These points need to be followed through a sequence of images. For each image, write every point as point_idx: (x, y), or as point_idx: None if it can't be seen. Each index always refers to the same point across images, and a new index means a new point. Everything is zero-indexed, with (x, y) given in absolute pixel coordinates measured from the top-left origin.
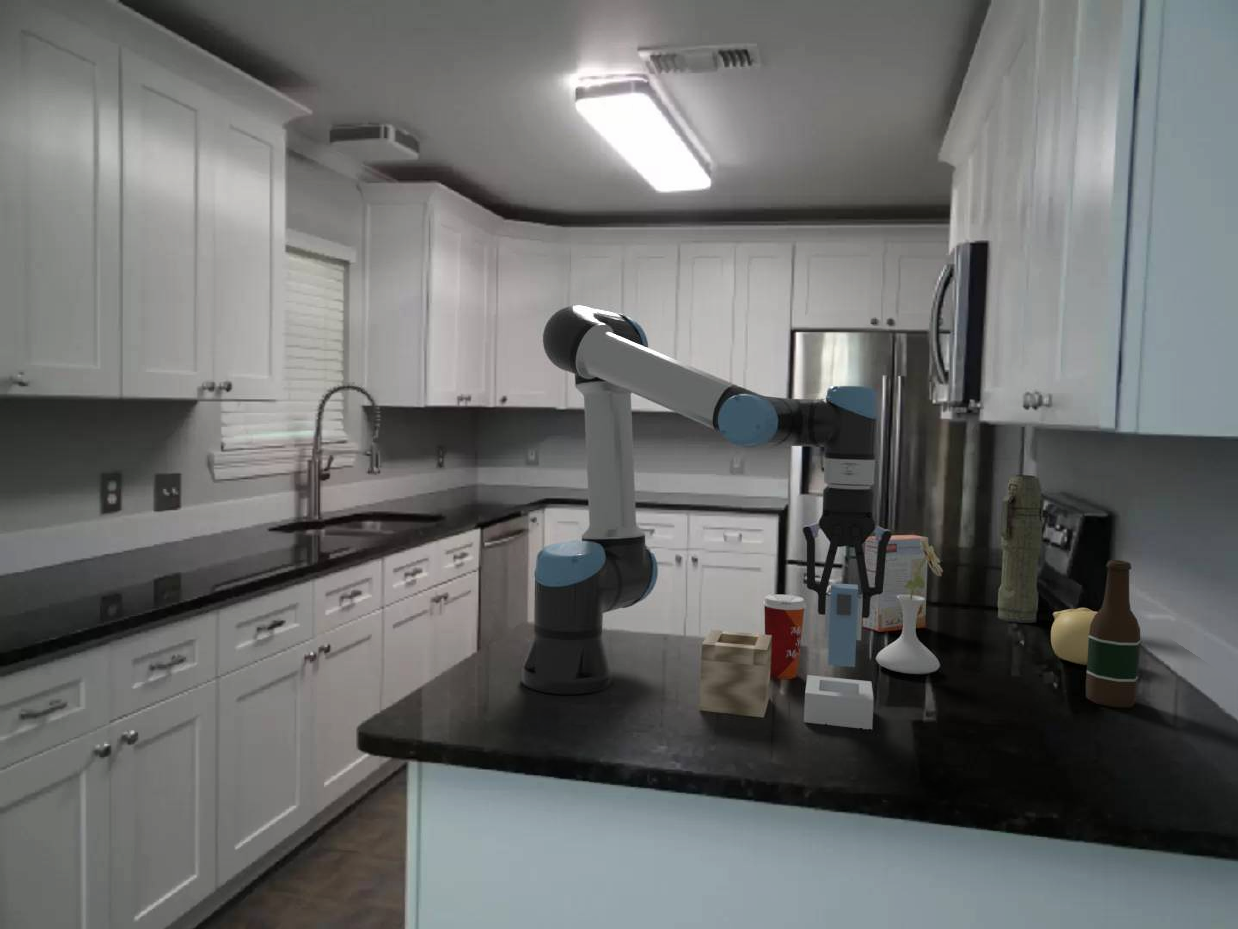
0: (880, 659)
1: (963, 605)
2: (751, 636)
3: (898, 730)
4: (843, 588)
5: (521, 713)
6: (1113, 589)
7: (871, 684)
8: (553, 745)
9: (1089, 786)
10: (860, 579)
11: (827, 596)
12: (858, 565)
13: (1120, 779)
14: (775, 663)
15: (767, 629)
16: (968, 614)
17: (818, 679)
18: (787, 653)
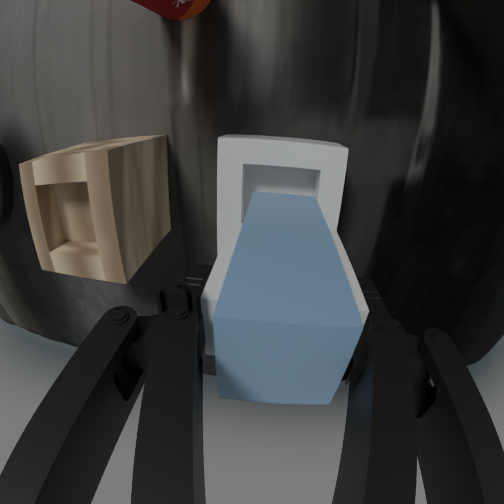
0: None
1: None
2: (75, 181)
3: (360, 232)
4: (270, 401)
5: (11, 274)
6: None
7: (345, 169)
8: (57, 329)
9: (463, 327)
10: (347, 425)
11: (212, 351)
12: (340, 485)
13: (491, 307)
14: (162, 14)
15: None
16: None
17: (240, 162)
18: (176, 4)
